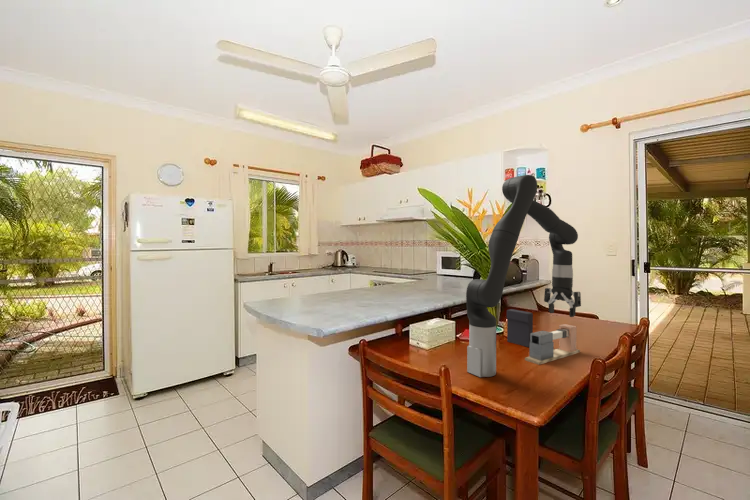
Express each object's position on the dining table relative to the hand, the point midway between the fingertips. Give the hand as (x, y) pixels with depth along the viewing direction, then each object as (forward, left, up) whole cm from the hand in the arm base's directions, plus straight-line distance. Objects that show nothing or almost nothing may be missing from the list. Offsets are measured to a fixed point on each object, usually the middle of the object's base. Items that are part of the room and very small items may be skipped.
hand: (561, 314), depth 145 cm
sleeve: (-13, 0, -16) cm, 21 cm away
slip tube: (-3, 0, -9) cm, 10 cm away
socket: (+5, 0, -16) cm, 17 cm away
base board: (-5, 0, -16) cm, 17 cm away
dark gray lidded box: (-2, +18, -17) cm, 25 cm away
